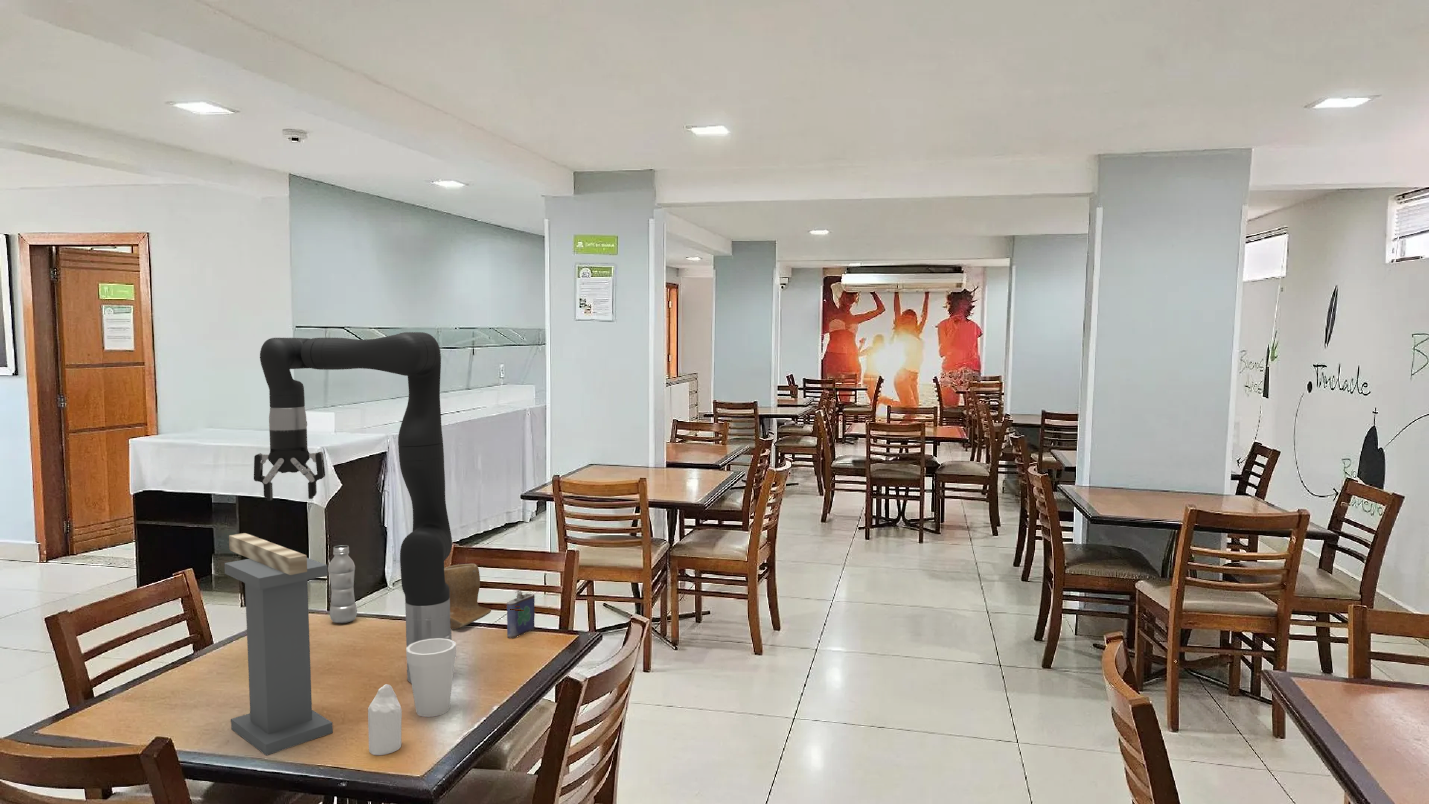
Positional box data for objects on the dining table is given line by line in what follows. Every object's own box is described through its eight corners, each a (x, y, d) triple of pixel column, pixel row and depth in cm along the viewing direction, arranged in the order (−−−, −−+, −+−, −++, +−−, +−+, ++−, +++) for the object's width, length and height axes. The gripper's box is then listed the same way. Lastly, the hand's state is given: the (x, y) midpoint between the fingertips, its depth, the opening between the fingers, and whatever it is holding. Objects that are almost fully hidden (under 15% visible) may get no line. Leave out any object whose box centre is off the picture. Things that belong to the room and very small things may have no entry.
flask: (512, 639, 215) (511, 596, 214) (503, 637, 216) (502, 595, 216) (537, 628, 223) (536, 587, 222) (528, 627, 225) (527, 586, 224)
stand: (332, 732, 164) (327, 565, 162) (266, 755, 155) (259, 578, 153) (295, 709, 174) (290, 551, 172) (231, 729, 165) (224, 563, 163)
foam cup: (406, 704, 176) (404, 642, 175) (454, 697, 180) (452, 635, 179) (410, 723, 168) (408, 657, 167) (459, 715, 171) (458, 650, 170)
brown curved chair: (459, 611, 238) (458, 556, 237) (497, 615, 234) (496, 560, 233) (423, 628, 224) (422, 570, 223) (463, 633, 220) (461, 574, 219)
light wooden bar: (307, 571, 157) (306, 555, 157) (290, 575, 155) (289, 558, 154) (245, 547, 175) (245, 532, 175) (229, 550, 173) (229, 535, 173)
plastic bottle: (347, 626, 225) (345, 550, 223) (324, 625, 226) (321, 549, 225) (362, 619, 231) (360, 544, 230) (339, 617, 232) (337, 543, 231)
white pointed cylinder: (381, 675, 160) (407, 678, 159) (383, 739, 161) (409, 742, 160) (359, 688, 155) (386, 691, 153) (361, 753, 156) (388, 757, 154)
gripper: (248, 429, 189) (251, 503, 190) (319, 428, 193) (321, 500, 194) (257, 426, 197) (260, 497, 198) (325, 424, 200) (328, 494, 201)
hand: (290, 499), depth 196 cm, fingers open, 8 cm apart
